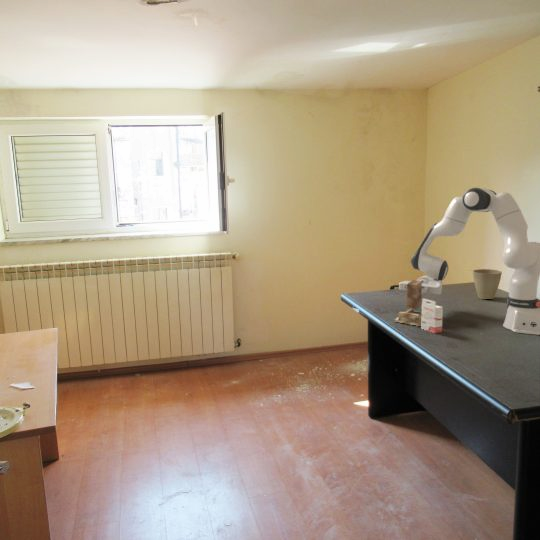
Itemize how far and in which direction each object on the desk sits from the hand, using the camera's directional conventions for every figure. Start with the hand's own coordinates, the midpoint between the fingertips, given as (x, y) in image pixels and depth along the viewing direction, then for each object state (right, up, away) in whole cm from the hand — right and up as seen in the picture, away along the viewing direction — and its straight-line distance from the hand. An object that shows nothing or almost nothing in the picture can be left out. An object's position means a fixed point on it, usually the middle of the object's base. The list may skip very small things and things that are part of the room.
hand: (414, 290), depth 228 cm
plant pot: (+53, -7, +42) cm, 68 cm away
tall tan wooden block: (0, -8, +2) cm, 8 cm away
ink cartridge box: (+4, -18, -12) cm, 22 cm away
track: (0, -15, +3) cm, 15 cm away
